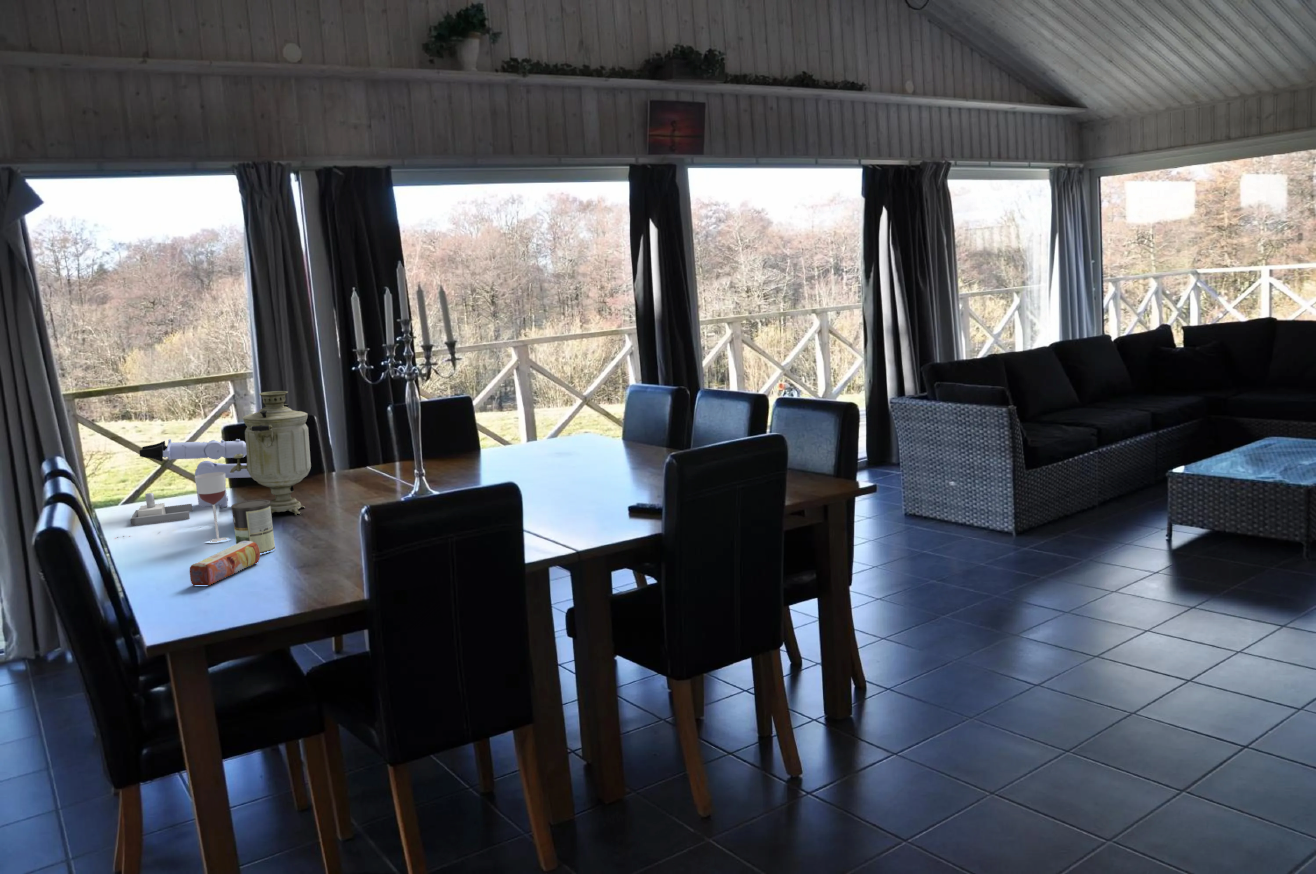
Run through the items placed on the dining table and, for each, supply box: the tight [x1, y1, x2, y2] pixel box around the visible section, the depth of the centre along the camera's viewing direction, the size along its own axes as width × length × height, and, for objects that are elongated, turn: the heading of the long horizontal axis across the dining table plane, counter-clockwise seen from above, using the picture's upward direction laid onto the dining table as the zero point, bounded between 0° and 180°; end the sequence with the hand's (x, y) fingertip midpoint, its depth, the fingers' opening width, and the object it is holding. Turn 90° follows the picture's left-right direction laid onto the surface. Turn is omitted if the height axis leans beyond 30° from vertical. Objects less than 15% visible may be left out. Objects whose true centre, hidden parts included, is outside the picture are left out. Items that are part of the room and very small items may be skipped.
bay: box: [130, 503, 194, 527], centre depth 339 cm, size 17×14×4 cm
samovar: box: [230, 390, 312, 516], centre depth 340 cm, size 30×26×40 cm
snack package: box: [189, 541, 261, 586], centre depth 270 cm, size 21×7×7 cm, turn 166°
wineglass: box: [194, 472, 227, 542], centre depth 307 cm, size 8×9×20 cm
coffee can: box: [230, 499, 276, 553], centre depth 292 cm, size 10×10×14 cm
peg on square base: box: [137, 492, 166, 517], centre depth 338 cm, size 7×9×8 cm
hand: (141, 451), depth 348 cm, fingers open, 7 cm apart
